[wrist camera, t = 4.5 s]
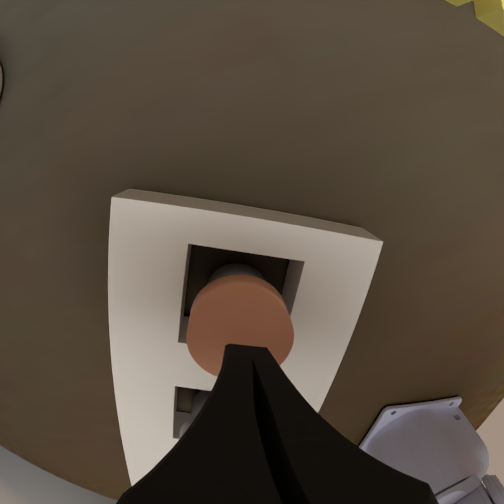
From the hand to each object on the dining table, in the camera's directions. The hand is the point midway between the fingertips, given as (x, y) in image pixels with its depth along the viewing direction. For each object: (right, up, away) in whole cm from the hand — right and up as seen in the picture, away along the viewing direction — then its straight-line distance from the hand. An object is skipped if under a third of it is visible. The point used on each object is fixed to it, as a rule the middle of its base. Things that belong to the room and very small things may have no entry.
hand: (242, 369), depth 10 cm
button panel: (-2, -5, +9) cm, 11 cm away
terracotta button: (0, +2, +5) cm, 6 cm away
